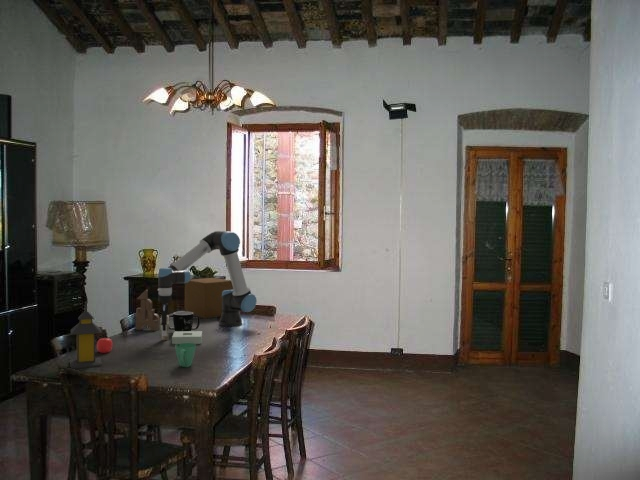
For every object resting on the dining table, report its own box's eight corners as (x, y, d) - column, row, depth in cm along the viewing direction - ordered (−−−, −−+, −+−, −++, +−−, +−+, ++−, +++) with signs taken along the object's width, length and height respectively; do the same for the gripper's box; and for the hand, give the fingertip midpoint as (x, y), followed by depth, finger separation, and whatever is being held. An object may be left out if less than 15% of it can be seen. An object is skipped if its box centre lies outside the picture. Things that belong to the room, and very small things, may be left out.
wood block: (184, 314, 435) (184, 279, 434) (212, 310, 453) (212, 277, 452) (205, 318, 418) (205, 283, 417) (233, 314, 436) (233, 280, 435)
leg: (169, 339, 350) (169, 315, 349) (168, 340, 345) (168, 316, 345) (161, 339, 349) (161, 315, 348) (160, 340, 345) (160, 316, 344)
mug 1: (177, 336, 358) (177, 316, 357) (164, 331, 370) (164, 312, 369) (201, 333, 369) (201, 313, 368) (188, 328, 381) (188, 310, 380)
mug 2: (177, 363, 294) (177, 342, 294) (197, 363, 295) (197, 343, 294) (170, 370, 280) (170, 349, 279) (192, 371, 280) (192, 349, 280)
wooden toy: (160, 328, 379) (161, 289, 378) (156, 330, 373) (156, 290, 372) (137, 327, 382) (137, 288, 381) (132, 329, 375) (132, 289, 374)
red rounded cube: (96, 350, 317) (96, 335, 317) (112, 349, 320) (112, 334, 320) (96, 354, 310) (96, 338, 309) (113, 352, 313) (113, 337, 313)
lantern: (70, 368, 280) (70, 304, 279) (69, 361, 293) (69, 300, 292) (102, 366, 286) (102, 303, 285) (100, 359, 299) (100, 299, 298)
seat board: (202, 337, 354) (202, 331, 354) (201, 343, 339) (201, 336, 338) (174, 338, 352) (174, 331, 352) (171, 344, 336) (172, 337, 336)
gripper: (160, 292, 355) (159, 331, 356) (156, 297, 336) (156, 338, 337) (173, 292, 356) (172, 331, 357) (170, 297, 337) (170, 338, 338)
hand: (164, 334), depth 347 cm, fingers open, 6 cm apart
